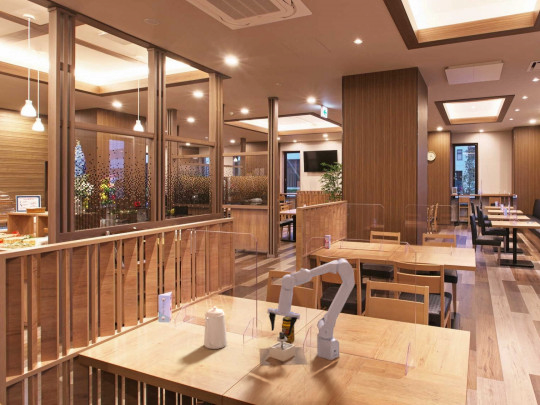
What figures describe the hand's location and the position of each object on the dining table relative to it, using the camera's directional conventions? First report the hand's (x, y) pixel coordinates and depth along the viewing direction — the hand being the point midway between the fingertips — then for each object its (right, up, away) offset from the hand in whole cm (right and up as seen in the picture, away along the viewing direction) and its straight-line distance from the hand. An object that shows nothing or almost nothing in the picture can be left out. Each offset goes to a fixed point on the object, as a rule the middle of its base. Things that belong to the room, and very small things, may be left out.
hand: (281, 331), depth 184 cm
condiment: (+4, -11, +18) cm, 21 cm away
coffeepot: (-31, -11, +14) cm, 36 cm away
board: (+1, -11, -1) cm, 11 cm away
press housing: (+1, -10, -1) cm, 10 cm away
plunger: (0, -7, -1) cm, 7 cm away
